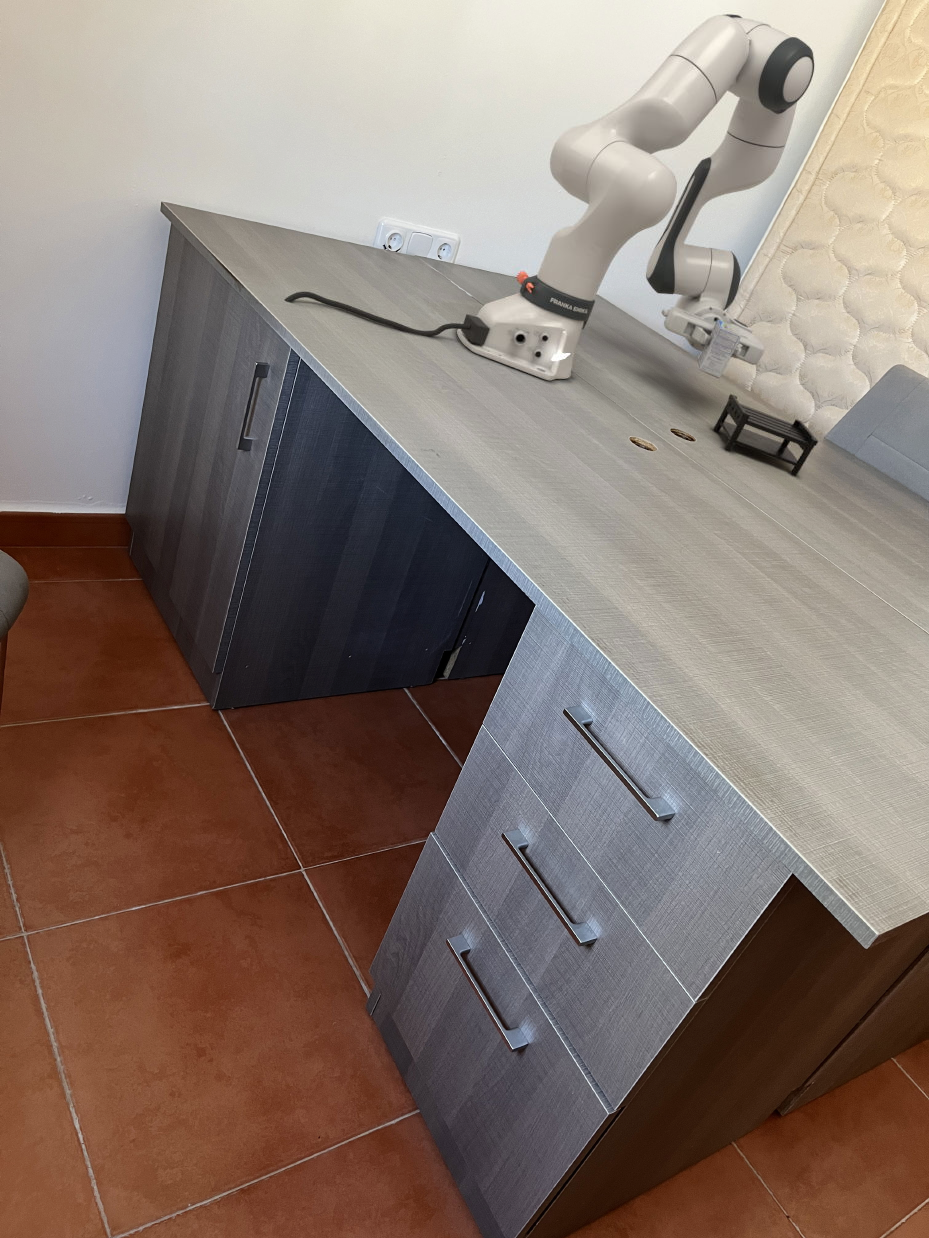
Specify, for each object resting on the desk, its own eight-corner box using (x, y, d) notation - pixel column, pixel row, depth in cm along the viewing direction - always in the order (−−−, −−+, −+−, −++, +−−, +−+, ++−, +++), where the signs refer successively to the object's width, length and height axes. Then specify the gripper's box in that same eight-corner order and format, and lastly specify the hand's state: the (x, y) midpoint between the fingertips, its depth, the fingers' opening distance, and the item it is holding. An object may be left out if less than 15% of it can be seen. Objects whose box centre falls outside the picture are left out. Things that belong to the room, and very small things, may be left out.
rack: (724, 449, 170) (744, 413, 167) (711, 428, 180) (730, 393, 176) (797, 477, 173) (819, 442, 169) (781, 455, 182) (801, 421, 179)
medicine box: (719, 379, 176) (742, 336, 171) (697, 370, 176) (720, 326, 171) (717, 369, 183) (739, 327, 178) (696, 360, 182) (718, 318, 178)
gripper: (667, 293, 184) (680, 310, 172) (758, 330, 188) (777, 350, 176) (652, 323, 187) (664, 342, 176) (742, 360, 191) (760, 381, 179)
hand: (721, 346), depth 176 cm, fingers closed on medicine box, 5 cm apart
